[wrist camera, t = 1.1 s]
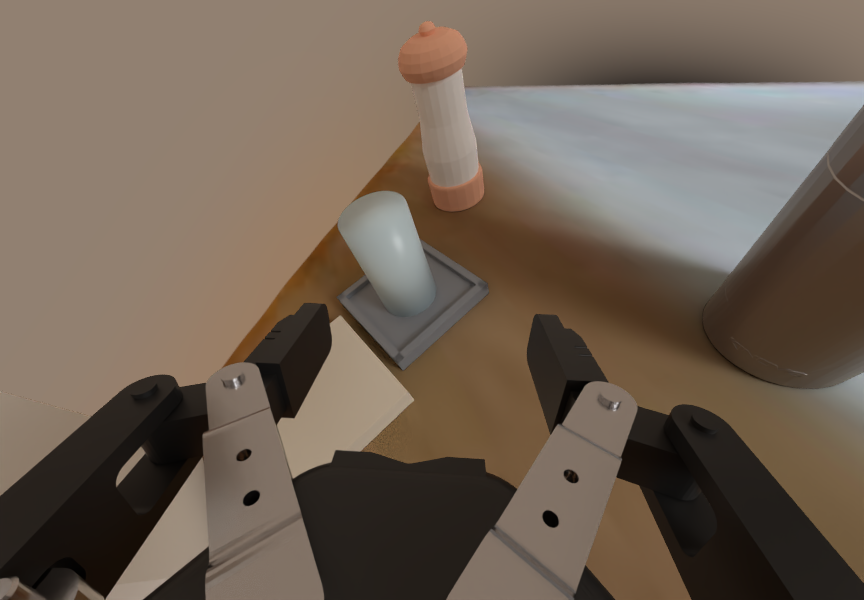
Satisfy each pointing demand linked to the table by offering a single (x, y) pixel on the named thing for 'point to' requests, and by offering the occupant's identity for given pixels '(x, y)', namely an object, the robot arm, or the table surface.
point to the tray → (419, 331)
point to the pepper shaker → (443, 115)
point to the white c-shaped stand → (187, 514)
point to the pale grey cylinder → (389, 251)
